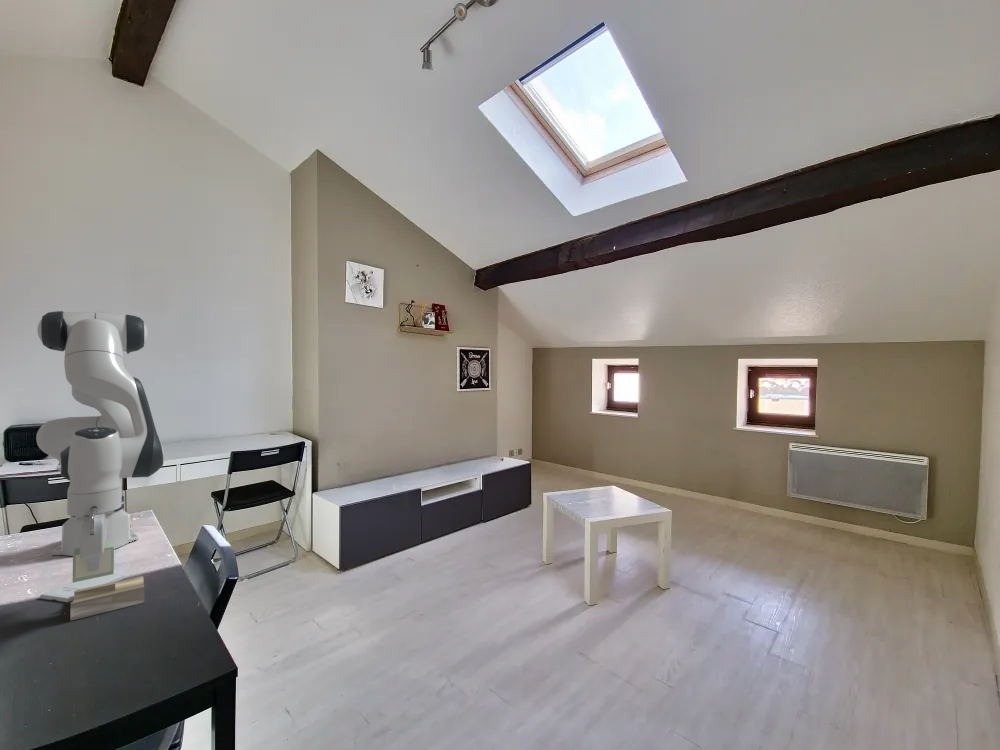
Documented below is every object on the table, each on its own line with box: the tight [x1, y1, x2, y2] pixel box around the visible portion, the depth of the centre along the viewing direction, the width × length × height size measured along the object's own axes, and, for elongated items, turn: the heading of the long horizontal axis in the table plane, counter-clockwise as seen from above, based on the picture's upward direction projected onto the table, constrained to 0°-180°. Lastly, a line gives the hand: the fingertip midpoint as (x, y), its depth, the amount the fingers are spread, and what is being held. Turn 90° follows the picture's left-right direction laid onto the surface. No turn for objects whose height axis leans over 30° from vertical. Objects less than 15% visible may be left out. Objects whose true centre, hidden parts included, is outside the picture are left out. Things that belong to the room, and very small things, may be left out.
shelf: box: [69, 575, 145, 622], centre depth 100 cm, size 12×12×4 cm
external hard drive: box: [39, 572, 126, 603], centre depth 106 cm, size 2×8×12 cm
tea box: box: [72, 542, 115, 583], centre depth 97 cm, size 4×6×6 cm, turn 130°
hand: (94, 565), depth 97 cm, fingers closed on tea box, 4 cm apart
